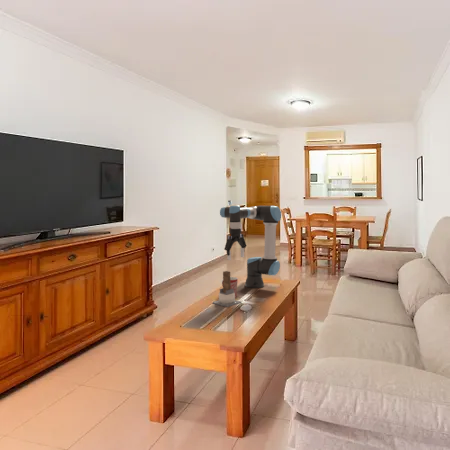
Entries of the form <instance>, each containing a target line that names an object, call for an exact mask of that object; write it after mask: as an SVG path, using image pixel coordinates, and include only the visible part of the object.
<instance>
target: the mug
mask: <svg viewBox="0 0 450 450" xmlns="http://www.w3.org/2000/svg"><path fill="white" fill-rule="evenodd" d="M238 280H239V278H238V277H236V276H235V277H234V276H230V289H234V293H235V298H236V297H237V296H238V294H237V293H238ZM221 285H222V287H223V280H222V281H221Z"/></svg>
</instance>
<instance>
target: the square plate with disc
mask: <svg viewBox="0 0 450 450" xmlns="http://www.w3.org/2000/svg"><path fill="white" fill-rule="evenodd" d="M212 302H213V303H212V304H214V305H218V306H222V307H226V308H229V307H231V306H235V305H239V304H241V303H242V301H239V300H236V297H235V293H234V289H230V290H226V293H224V292H223V287H222V288H220V289H219V292H218V300H216V301H212Z"/></svg>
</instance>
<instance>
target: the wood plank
mask: <svg viewBox="0 0 450 450" xmlns="http://www.w3.org/2000/svg"><path fill="white" fill-rule="evenodd" d="M230 277H231V271H229V270H224V271H222V281H223V286H222V288H223V292H224V293H226V290H230Z"/></svg>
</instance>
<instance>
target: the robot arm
mask: <svg viewBox="0 0 450 450" xmlns="http://www.w3.org/2000/svg"><path fill="white" fill-rule="evenodd" d="M219 214H220V215H219V216H220V217H221V218H225V219H227V218H228V219H229V234H230V235H227V239H226V243H225V245H224V248H223V249H224V250H225V251H226V256H227V257H226V258H227V261H232V251H231V249H232V247H233V246H234V243H235V242H237V243H238V244H239V246H240V258H245V249H246V247H247V242H246V240H245V237H244V234H243V233H242V227H241V226H242V225H241V224H242V223H241V222H242V221H241V219H250V220H257V221H262V223H263V225H264V249H263V251H264V252H263V256H254V257H249V258H247V261H246V267H247V268H246V269H247V270H246V276H247V277H246V279H245V282H244V284H245V285H244V286H245V287H246V288H251V289H259V288H263V287H265V283H264V280H263V275H267V276H276V275H278V272H279V271H280V267H281V264H280V261H279V260H278V257H277V256H276V244H277V243H276V241H277V239H276V238H277V237H276V236H277V225H278V224H279V222H280V221H281V219H282V211H281V209H280V207H279V206H275V205H255V206H250V207H246V206H243V207H241V206H240V205H230V206H228V207H227V206H225V207H224V206H223V207H221V208H220V210H219Z"/></svg>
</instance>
